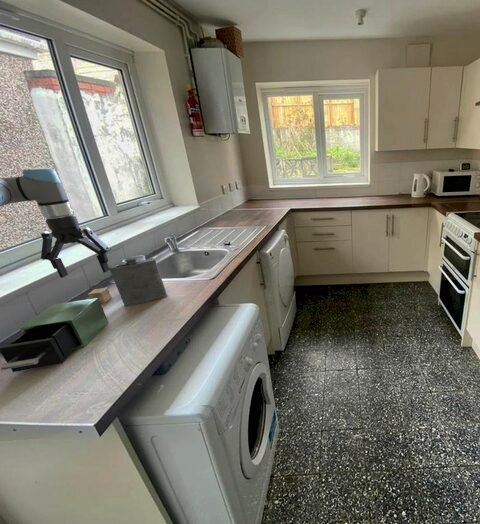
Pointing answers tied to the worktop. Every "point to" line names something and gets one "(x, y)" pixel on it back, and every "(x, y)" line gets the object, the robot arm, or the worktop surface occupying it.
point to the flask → (138, 281)
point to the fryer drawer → (39, 347)
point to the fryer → (73, 319)
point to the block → (100, 294)
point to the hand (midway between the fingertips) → (85, 273)
